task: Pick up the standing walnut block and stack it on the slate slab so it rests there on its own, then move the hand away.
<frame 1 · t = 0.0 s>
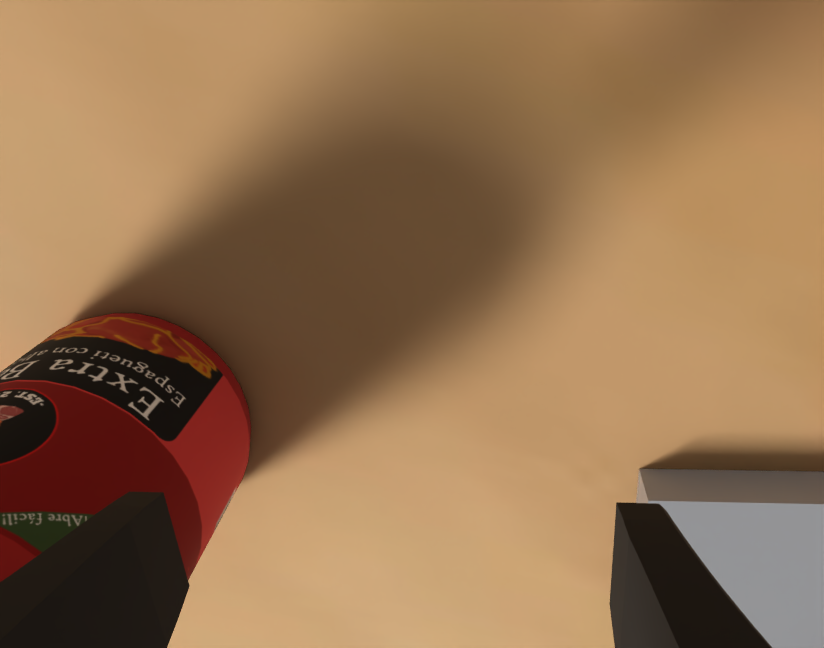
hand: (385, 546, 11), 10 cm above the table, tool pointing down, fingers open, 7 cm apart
canned food: (151, 409, 23), on the table
slate slab: (751, 558, 23), on the table
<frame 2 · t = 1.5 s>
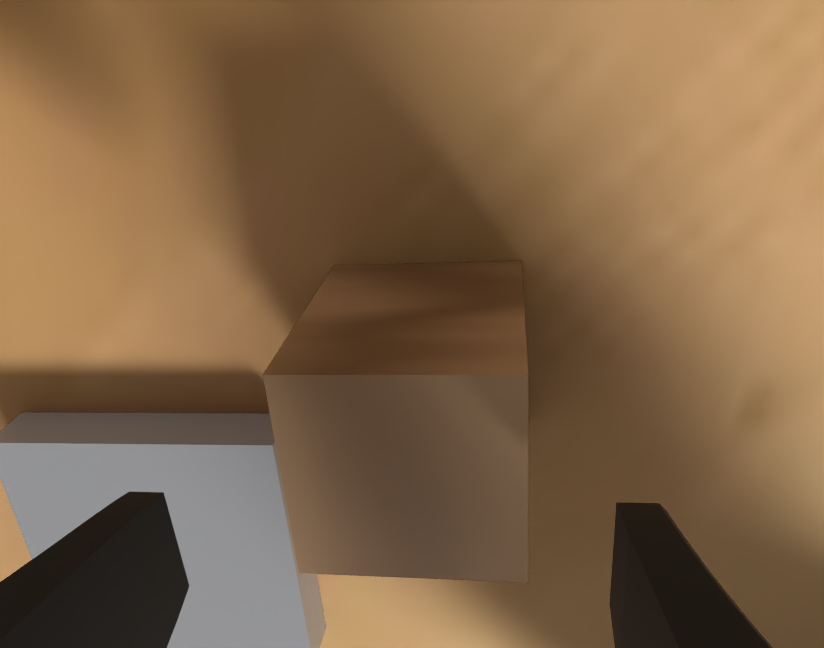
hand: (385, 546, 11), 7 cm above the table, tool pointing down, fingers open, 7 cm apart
walnut block: (431, 346, 17), on the table
slate slab: (188, 514, 21), on the table
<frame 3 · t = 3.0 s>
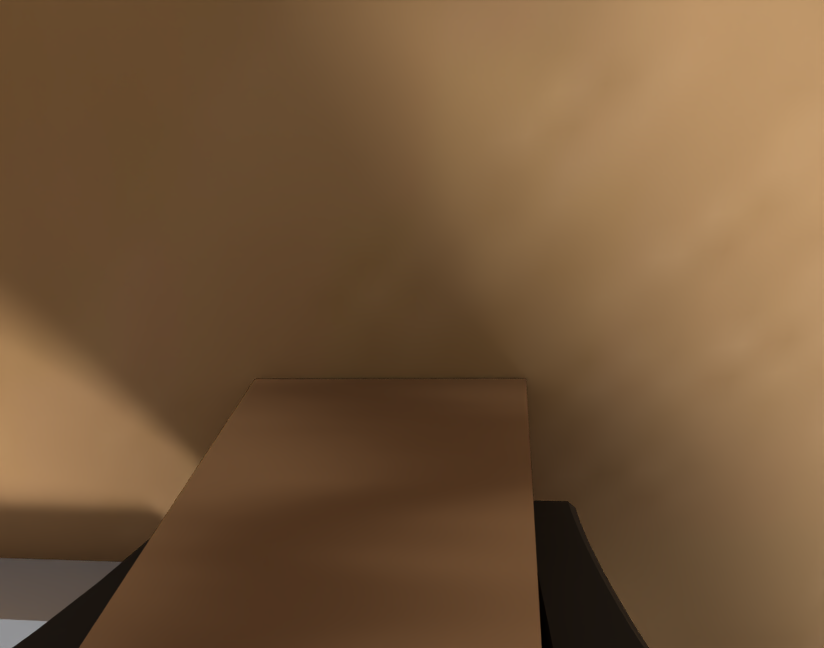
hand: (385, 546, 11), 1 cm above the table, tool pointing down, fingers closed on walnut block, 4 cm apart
walnut block: (397, 489, 12), on the table, touching gripper
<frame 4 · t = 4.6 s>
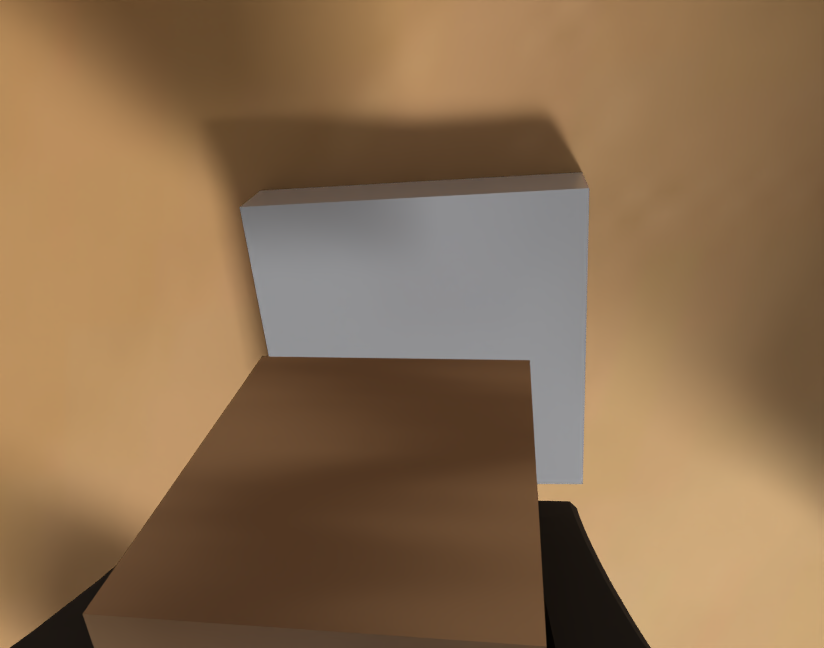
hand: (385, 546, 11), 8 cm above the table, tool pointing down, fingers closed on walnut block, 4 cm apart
walnut block: (400, 469, 12), point 7 cm above the table, touching gripper
slate slab: (429, 320, 19), on the table
when the fingers open (4 cm above the table, at t = 6.2 s): walnut block drops 1 cm, resting on slate slab.
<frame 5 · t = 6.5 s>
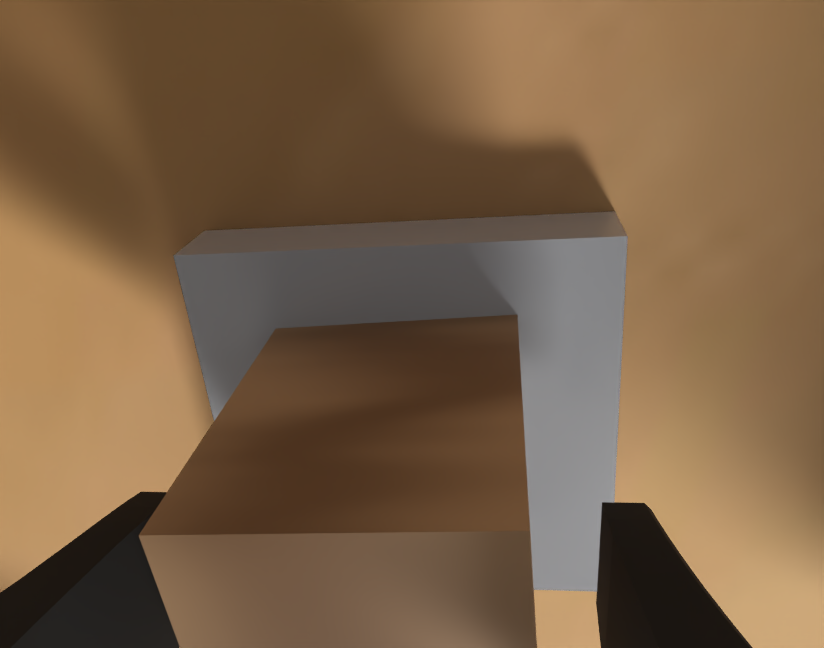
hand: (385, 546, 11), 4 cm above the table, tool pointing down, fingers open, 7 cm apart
walnut block: (408, 424, 14), point 1 cm above the table, touching slate slab
slate slab: (420, 385, 15), on the table, touching walnut block
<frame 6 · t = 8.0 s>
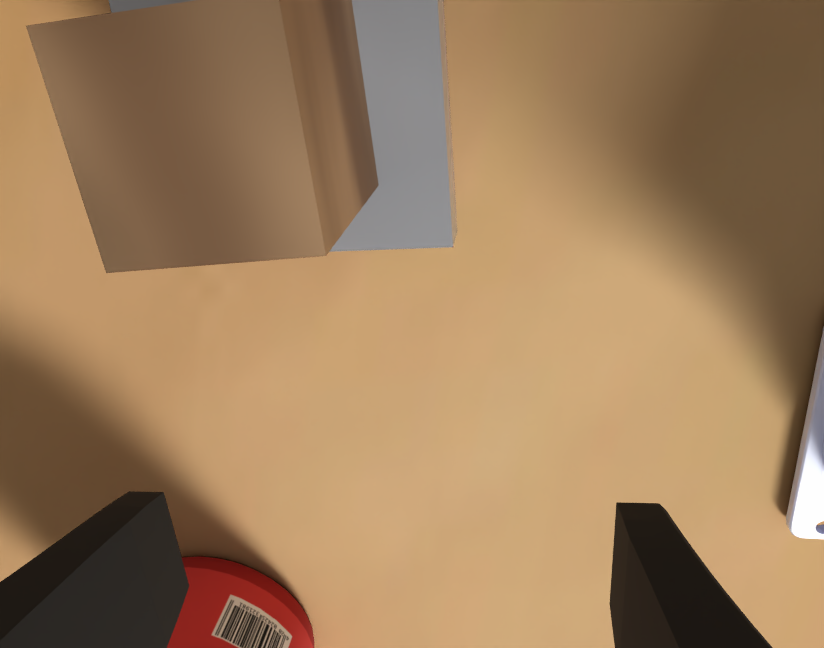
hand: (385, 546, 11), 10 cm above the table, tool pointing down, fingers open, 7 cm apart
canned food: (225, 619, 28), on the table
walnut block: (277, 104, 17), point 1 cm above the table, touching slate slab
slate slab: (305, 90, 19), on the table, touching walnut block
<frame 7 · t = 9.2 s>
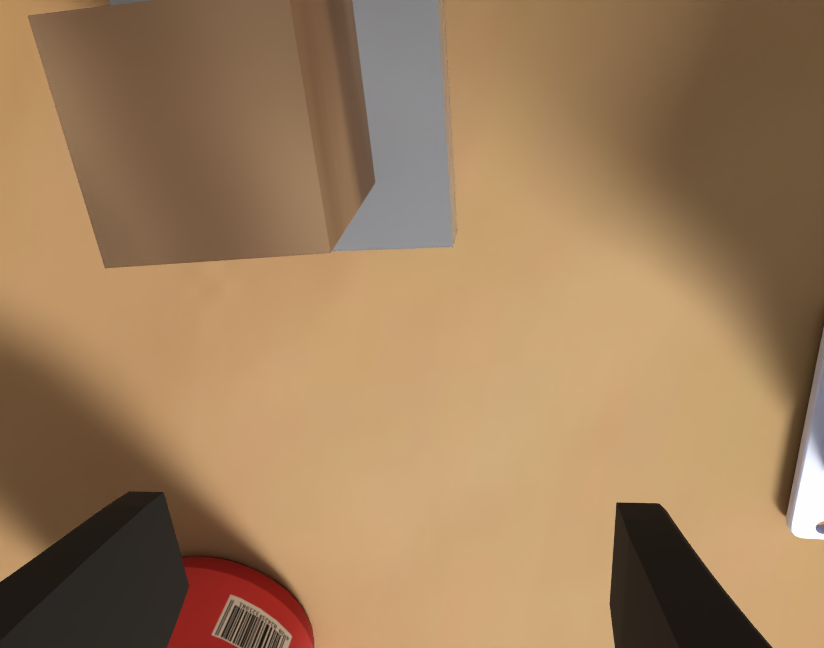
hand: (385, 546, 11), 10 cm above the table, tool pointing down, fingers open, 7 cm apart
canned food: (225, 619, 28), on the table
walnut block: (275, 100, 17), point 1 cm above the table, touching slate slab
slate slab: (305, 90, 19), on the table, touching walnut block
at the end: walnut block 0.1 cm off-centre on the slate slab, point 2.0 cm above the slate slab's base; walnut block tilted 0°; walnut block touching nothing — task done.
